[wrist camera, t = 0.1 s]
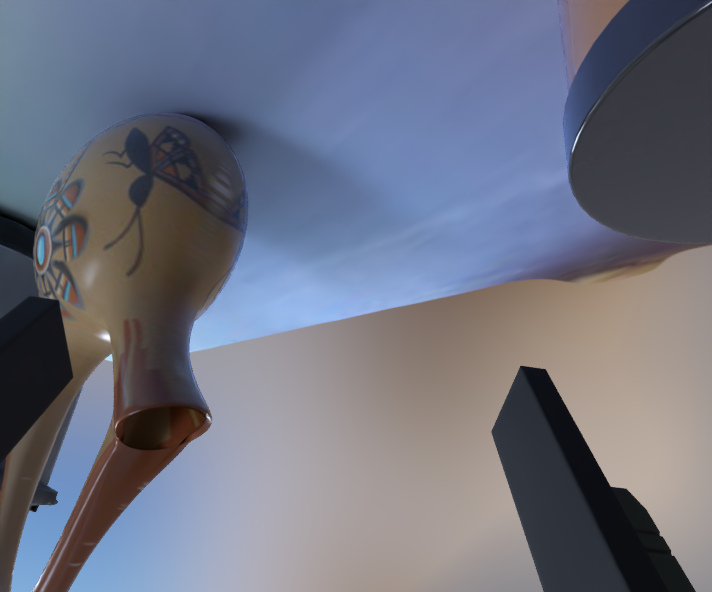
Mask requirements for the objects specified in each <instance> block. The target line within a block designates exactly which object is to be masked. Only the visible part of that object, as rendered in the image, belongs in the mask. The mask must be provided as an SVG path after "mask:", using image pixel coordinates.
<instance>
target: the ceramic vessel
mask: <svg viewBox="0 0 712 592" xmlns="http://www.w3.org/2000/svg"><path fill="white" fill-rule="evenodd" d="M247 221H248V195H247V187H246V182H245V178H244V175H243V171H242V169H241V166H240V164H239V161H238V159H237V157H236V155H235V154H234V152H233V150H232V149H231V147H230V146H229V145H228V143H227V142H226V141H225V140H224V139H223V138H222V137H221V136H220V135H219V134H218V133H217V132H216V131H215V130H214V129H212V128H211V127H210V126H208V125H207V124H205V123H203V122H202V121H200V120H198V119H195V118H193V117H190V116H187V115H183V114H177V113H151V114H145V115H140V116H136V117H133V118H130V119H127V120H124V121H122V122H120V123H118V124H115V125H113V126H112V127H110V128H108V129H106V130H105V131H103V132H102V133H100V134H99V135H97V136H96V137H94V138H93V139H92V140H91V141H89V142H88V143H87V144H86V145H85V146H84V147H82V148H81V149H80V150H79V151H78V152H77V153H76V154H75V155H74V157H73V158H72V159H71V160H70V161H69V162H68V164H67V165H66V166H65V167H64V169H63V170H62V172H61V173H60V174H59V176H58V177H57V179H56V181H55V182H54V184H53V186H52V188H51V190H50V191H49V193H48V196H47V198H46V200H45V202H44V205H43V207H42V210H41V213H40V216H39V220H38V223H37V228H36V233H35V239H34V248H33V266H34V275H35V281H36V285H37V289H38V293H39V297H41V298H48V299H55V300H59V303H60V309H61V314H62V319H63V324H64V330H65V335H66V340H67V345H68V350H69V356H70V361H71V366H72V371H73V379H72V380H71V381H70V382H69V383H68V385H67V386H66V387H65V388H64V389H63V390H62V392H61V393H60V394H59V395H58V396H57V398H56V399H55V400H54V401H53V402H52V403H51V405H50V406H49V407H48V408H47V409H46V411H45V412H44V413H43V414H42V415H41V416H40V418H39V419H38V420H37V421H36V422H35V423H34V425H33V426H32V427H31V428H30V429H29V431H28V432H27V433H26V434H25V435H24V436H23V438H22V439H21V440H20V441H19V442H18V444H17V445H16V446H15V447H14V448H13V449H12V451H11V452H10V453H9V454H8V455H7V457H6V462H5V470H4V476H3V481H2V487H1V492H0V592H11V583H12V576H13V570H14V565H15V560H16V556H17V551H18V547H19V543H20V539H21V535H22V531H23V528H24V524H25V521H26V518H27V514H28V511H29V508H30V505H31V502H32V499H33V497H34V494H35V491H36V488H37V485H38V483H39V480H40V477H41V475H42V472H43V470H44V467H45V464H46V462H47V459H48V457H49V454H50V452H51V450H52V448H53V446H54V443H55V440H56V437H57V435H58V432H59V430H60V427H61V425H62V423H63V421H64V419H65V416H66V414H67V412H68V410H69V408H70V406H71V404H72V402H73V401H74V399H75V397H76V395H77V393H78V392H79V390H80V389H81V387H82V386H83V384H84V383H85V381H86V380H87V378H88V377H89V376H90V374H91V373H92V372H93V371H94V370H95V368H96V367H97V366H98V365H99V364H100V363H101V362H102V361H103V360H104V359H105V358H106V357H108V356H109V355H110V354H112V357H113V371H114V411H113V417H112V421H111V424H110V426H109V429H108V432H107V434H106V437H105V440H104V442H103V444H102V446H101V449H100V451H99V453H98V455H97V458H96V460H95V462H94V465H93V467H92V469H91V471H90V473H89V476H88V478H87V480H86V482H85V485H84V487H83V489H82V492H81V494H80V496H79V498H78V500H77V503H76V505H75V507H74V509H73V511H72V513H71V516H70V518H69V520H68V522H67V524H66V526H65V528H64V531H63V533H62V535H61V537H60V539H59V541H58V543H57V545H56V547H55V549H54V551H53V553H52V555H51V557H50V559H49V561H48V563H47V565H46V567H45V569H44V571H43V573H42V575H41V577H40V579H39V580H38V582H37V584H36V586H35V587H34V589H33V591H32V592H68V590H69V589H70V587H71V585H72V584H73V582H74V580H75V578H76V577H77V575H78V573H79V572H80V570H81V568H82V567H83V565H84V563H85V562H86V560H87V559H88V557H89V556H90V554H91V553H92V551H93V550H94V549H95V547H96V546H97V544H98V543H99V542H100V540H101V539H102V538H103V536H104V535H105V533H106V532H107V531H108V530H109V528H110V527H111V526H112V524H113V523H114V522H115V521H116V519H117V518H118V517H119V516H120V515H121V513H122V512H123V511H124V510H125V509H126V508H127V506H128V505H129V504H130V503H131V502H132V501H133V499H134V498H135V497H136V496H137V495H138V494H139V493H140V492H141V491H142V490H143V489H144V488H145V487H146V485H148V484H149V483H150V482H151V481H152V480H153V478H155V476H157V475H158V474H159V473H160V472H161V471H162V470H163V469H164V468H165V467H166V466H167V465H168V464H169V463H170V462H171V461H172V460H173V459H174V458H175V457H176V456H177V455H178V454H179V453H180V452H181V451H182V450H183V449H184V447H186V445H187V444H188V443H189V442H191V441H192V440H194V439H196V438H197V437H199V436H201V435H202V434H203V433H205V432H206V431H207V430H208V428H209V427H210V425H211V423H212V416H211V413H210V410H209V408H208V406H207V404H206V402H205V400H204V398H203V396H202V394H201V392H200V389H199V387H198V385H197V382H196V380H195V377H194V374H193V370H192V366H191V361H190V353H189V343H190V335H191V331H192V326H193V323H194V321H195V320H196V319H198V318H199V317H200V316H201V315H202V314H203V313H204V312H205V311H206V310H207V309H208V308H209V306H210V305H211V304H212V303H213V302H214V300H215V299H216V298H217V296H218V295H219V294H220V292H221V291H222V289H223V288H224V286H225V285H226V283H227V281H228V280H229V278H230V276H231V274H232V272H233V270H234V268H235V266H236V263H237V261H238V258H239V256H240V253H241V250H242V246H243V243H244V239H245V234H246V228H247Z"/></svg>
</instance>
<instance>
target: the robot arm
mask: <svg viewBox="0 0 712 592" xmlns="http://www.w3.org/2000/svg"><path fill="white" fill-rule="evenodd" d="M72 379H73V371H72V366H71V361H70V356H69V350H68V345H67V340H66V335H65V330H64V324H63V319H62V314H61V309H60V303H59V300H55V299H48V298H41V297H34V296H29V297H28V298H26V299H25V300H24V301H22V302H21V303H20V304H19V305H17V306H16V307H15V308H13V309H12V310H11V311H10V312H8V313H7V314H6V315H4V316H3V317H2V318H1V319H0V464H1V462H2V461H3V460H4V459H5V458H6V457H7V455H8V454H9V453H10V452H11V451H12V449H13V448H14V447H15V446H16V445H17V444H18V442H19V441H20V440H21V439H22V438H23V436H24V435H25V434H26V433H27V432H28V431H29V429H30V428H31V427H32V426H33V425H34V423H35V422H36V421H37V420H38V419H39V418H40V416H41V415H42V414H43V413H44V412H45V411H46V409H47V408H48V407H49V406H50V405H51V403H52V402H53V401H54V400H55V399H56V398H57V396H58V395H59V394H60V393H61V392H62V390H63V389H64V388H65V387H66V386H67V385H68V383H69V382H70V381H71V380H72ZM492 435H493V438H494V442H495V445H496V447H497V451H498V454H499V457H500V460H501V463H502V466H503V469H504V472H505V475H506V478H507V481H508V484H509V487H510V490H511V493H512V496H513V499H514V502H515V505H516V508H517V511H518V514H519V517H520V521H521V524H522V527H523V530H524V533H525V536H526V539H527V542H528V545H529V548H530V551H531V554H532V557H533V560H534V563H535V566H536V569H537V572H538V575H539V578H540V582H541V585H542V587H543V591H544V592H696V591H695V590H694V588H693V586H692V585H691V583H690V581H689V580H688V578H687V576H686V575H685V573H684V571H683V570H682V568H681V566H680V565H679V563H678V561H677V560H676V558H675V557H674V556H672V555H671V550H670V548H669V547H668V545H667V543H666V542H665V540H664V538H663V537H661V536H660V534H659V533H660V532H659V530H658V528H657V527H656V525H655V524H654V522H653V520H652V518H651V517H650V515H649V513H648V512H647V510H646V509H645V508H644V507H643V506H642V505H641V504H640V503H639V502H638V500H637V499H636V498H635V497H634V496H633V495H632V494H631V493H630V492H629V491H628V490H627V489H624V488H615V487H610V485H609V483H608V481H607V479H606V477H605V476H604V474H603V472H602V470H601V468H600V467H599V465H598V463H597V461H596V459H595V458H594V456H593V454H592V452H591V451H590V449H589V447H588V445H587V443H586V442H585V440H584V438H583V436H582V434H581V432H580V431H579V429H578V427H577V425H576V424H575V422H574V420H573V418H572V416H571V414H570V413H569V411H568V409H567V407H566V405H565V404H564V402H563V400H562V398H561V396H560V395H559V393H558V391H557V389H556V387H555V385H554V384H553V382H552V380H551V378H550V377H549V375H548V373H547V371H546V369H540V368H533V367H526V366H520V368H519V371H518V373H517V375H516V377H515V380H514V382H513V384H512V386H511V389H510V391H509V394H508V396H507V398H506V400H505V402H504V405H503V407H502V409H501V411H500V413H499V416H498V418H497V420H496V423H495V425H494V427H493V429H492Z"/></svg>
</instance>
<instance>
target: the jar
mask: <svg viewBox="0 0 712 592" xmlns="http://www.w3.org/2000/svg"><path fill="white" fill-rule="evenodd" d="M557 3H558V11H559V19H560V28H561V36H562V45H563V53H564V62H565V70H566V78H567V87H568V97H567V100H566V104H565V109H564V118H563V130H564V141H565V151H566V160H567V169H568V179H569V184H570V187H571V190H572V193H573V195H574V197H575V198H576V200H577V202H578V203H579V205H580V206H581V207H582V208H583V209H584V210H585V212H586V213H587V214H588V215H589V216H590V217H592V218H593V219H595V220H596V221H598V222H599V223H600V224H602V225H604V226H606V227H608V228H610V229H612V230H614V231H617V232H620V233H623V234H626V235H629V236H633V237H637V238H641V239H646V240H653V241H660V242H671V243H712V0H557Z"/></svg>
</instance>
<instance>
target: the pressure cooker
mask: <svg viewBox="0 0 712 592" xmlns="http://www.w3.org/2000/svg"><path fill="white" fill-rule="evenodd" d="M35 233H36V232H34V231H32V230H30V229H28V228H27V227H25V226H23V225H21V224H19V223H17V222H15V221H12V220H10V219H7V218H4V217H2V216H0V319H1V318H2V317H3V316H4V315H6V314H7V313H8V312H10V311H11V310H12V309H13V308H15V307H16V306H17V305H19V304H20V303H21V302H22V301H24V300H25V299H26V298H28V297H29V296H34V297H39V293H38V289H37V285H36V281H35V275H34V266H33V248H34V239H35ZM83 385H84V384H83ZM82 388H83V386H82V387H81V389H80V390H79V392H78V393H77V395H76V397H75V399H74V401H73V402H72V404H71V406H70V408H69V410H68V412H67V414H66V416H65V419H64V421H63V423H62V425H61V427H60V430H59V432H58V435H57V437H56V440H55V443H54V446H53V448H52V450H51V452H50V454H49V457H48V459H47V462H46V464H45V467H44V470H43V472H42V475H41V477H40V480H39V483H38V485H37V488H36V491H35V494H34V497H33V499H32V502H31V505H30V508H29V510H30V511H33V512H36V511H37V508H38V506H39V505H54V504H57V503H58V501H57V500H56V496H57V493H58V492H57V491H55V490H53V489H52V488H50V487H48V486H47V485H48V482H49V479H50V476H51V474H52V471H53V468H54V465H55V462H56V460H57V457H58V454H59V451H60V449H61V446H62V443H63V440H64V438H65V435H66V432H67V429H68V427H69V424H70V421H71V418H72V415H73V413H74V410H75V407H76V404H77V402H78V399H79V396H80V393H81V390H82ZM5 462H6V458H5V459H4V460H3V461H2V462H1V464H0V492H1V487H2V481H3V476H4V470H5ZM28 512H29V511H28Z"/></svg>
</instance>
